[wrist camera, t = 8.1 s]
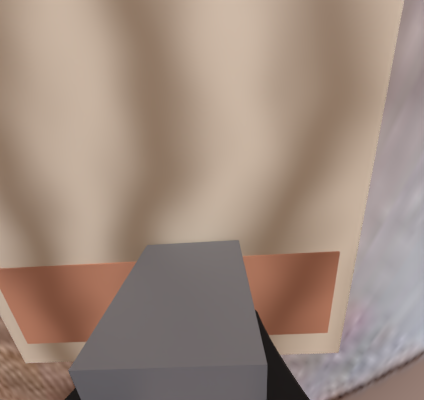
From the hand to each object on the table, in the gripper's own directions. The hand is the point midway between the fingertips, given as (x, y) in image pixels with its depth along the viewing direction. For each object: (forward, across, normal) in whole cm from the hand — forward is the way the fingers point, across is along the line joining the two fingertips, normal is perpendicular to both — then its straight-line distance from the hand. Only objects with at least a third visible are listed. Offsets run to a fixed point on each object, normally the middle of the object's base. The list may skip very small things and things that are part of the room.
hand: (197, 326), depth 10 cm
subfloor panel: (+2, +2, -7) cm, 7 cm away
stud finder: (+2, 0, 0) cm, 2 cm away
